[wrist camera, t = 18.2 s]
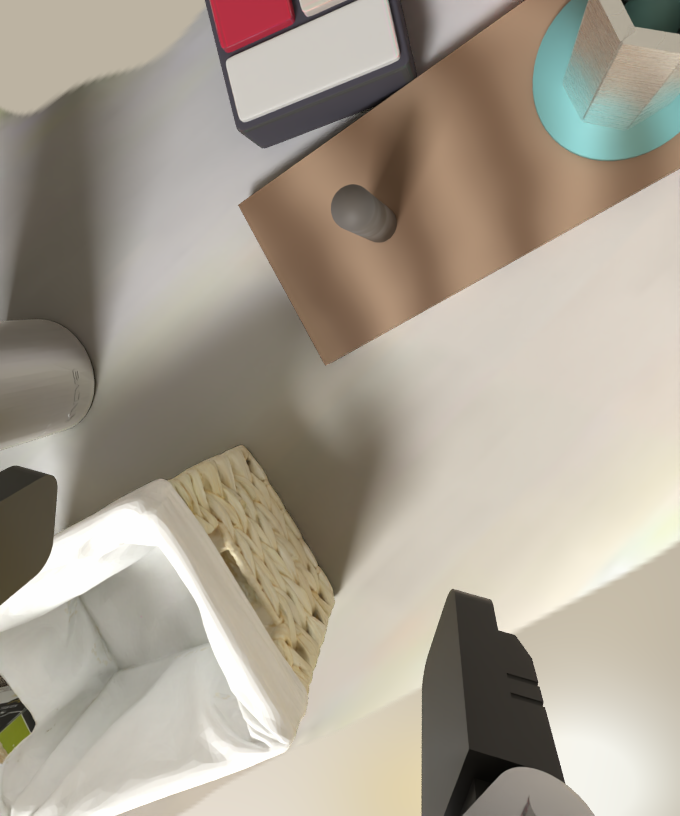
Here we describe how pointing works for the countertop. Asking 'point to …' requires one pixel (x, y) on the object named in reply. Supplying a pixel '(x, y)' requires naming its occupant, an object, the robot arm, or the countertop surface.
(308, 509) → the countertop surface
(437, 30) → the countertop surface
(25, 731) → the tea box
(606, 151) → the jig board
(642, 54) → the sleeve
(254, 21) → the calculator
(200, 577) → the storage basket
